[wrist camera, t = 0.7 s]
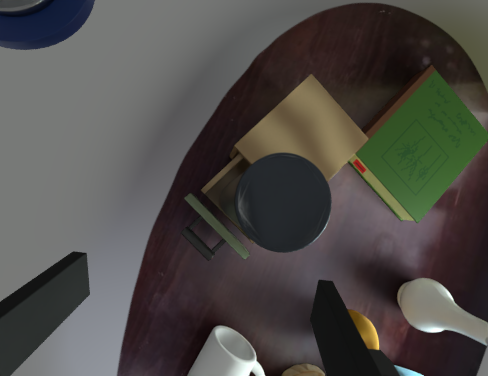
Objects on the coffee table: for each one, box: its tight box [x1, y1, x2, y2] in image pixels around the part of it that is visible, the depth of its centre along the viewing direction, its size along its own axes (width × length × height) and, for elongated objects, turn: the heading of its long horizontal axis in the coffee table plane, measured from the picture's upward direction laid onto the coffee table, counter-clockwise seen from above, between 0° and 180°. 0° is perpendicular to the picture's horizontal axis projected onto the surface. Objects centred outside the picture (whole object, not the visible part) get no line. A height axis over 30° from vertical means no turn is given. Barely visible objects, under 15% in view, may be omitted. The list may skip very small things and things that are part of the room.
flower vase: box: [397, 278, 488, 346], centre depth 33 cm, size 13×18×25 cm
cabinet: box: [229, 74, 368, 182], centre depth 39 cm, size 17×14×9 cm
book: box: [347, 65, 488, 223], centre depth 45 cm, size 25×19×4 cm
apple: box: [347, 309, 379, 350], centre depth 38 cm, size 9×9×9 cm
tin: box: [220, 152, 332, 253], centre depth 27 cm, size 7×7×24 cm
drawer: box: [181, 153, 254, 261], centre depth 37 cm, size 20×12×7 cm, turn 134°
